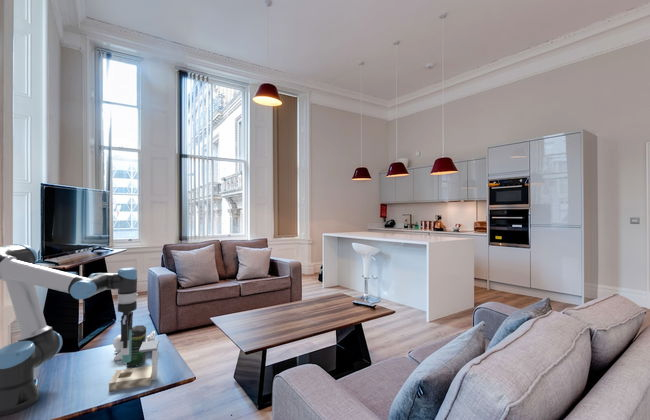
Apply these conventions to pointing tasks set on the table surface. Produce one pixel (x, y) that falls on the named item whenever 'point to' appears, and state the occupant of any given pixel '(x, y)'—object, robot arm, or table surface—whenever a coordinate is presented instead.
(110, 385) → the socket block
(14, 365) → the robot arm
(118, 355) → the cherub figurine
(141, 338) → the coffee jar
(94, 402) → the table surface
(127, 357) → the peg
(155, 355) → the light grey angular piece
